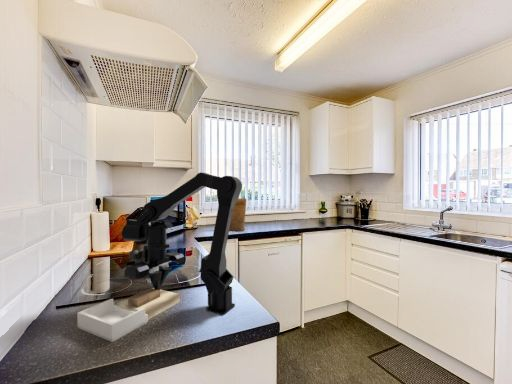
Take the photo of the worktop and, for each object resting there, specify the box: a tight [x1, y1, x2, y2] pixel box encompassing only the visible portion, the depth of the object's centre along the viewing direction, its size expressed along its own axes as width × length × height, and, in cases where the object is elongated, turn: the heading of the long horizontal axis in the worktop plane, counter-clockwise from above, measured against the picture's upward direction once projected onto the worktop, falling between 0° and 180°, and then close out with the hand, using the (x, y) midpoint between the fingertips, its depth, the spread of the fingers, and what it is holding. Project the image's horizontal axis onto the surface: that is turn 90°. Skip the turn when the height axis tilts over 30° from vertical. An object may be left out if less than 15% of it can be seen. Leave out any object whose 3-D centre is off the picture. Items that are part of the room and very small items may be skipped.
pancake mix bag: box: [229, 197, 247, 232], centre depth 215 cm, size 7×19×28 cm, turn 96°
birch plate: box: [116, 287, 181, 321], centre depth 76 cm, size 12×13×2 cm
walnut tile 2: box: [140, 287, 160, 301], centre depth 77 cm, size 4×4×2 cm
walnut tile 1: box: [127, 292, 150, 308], centre depth 73 cm, size 4×4×2 cm
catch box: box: [76, 298, 149, 343], centre depth 66 cm, size 14×10×4 cm
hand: (157, 291), depth 79 cm, fingers closed
